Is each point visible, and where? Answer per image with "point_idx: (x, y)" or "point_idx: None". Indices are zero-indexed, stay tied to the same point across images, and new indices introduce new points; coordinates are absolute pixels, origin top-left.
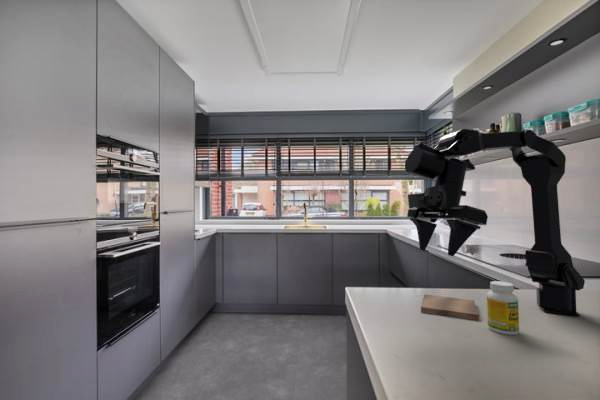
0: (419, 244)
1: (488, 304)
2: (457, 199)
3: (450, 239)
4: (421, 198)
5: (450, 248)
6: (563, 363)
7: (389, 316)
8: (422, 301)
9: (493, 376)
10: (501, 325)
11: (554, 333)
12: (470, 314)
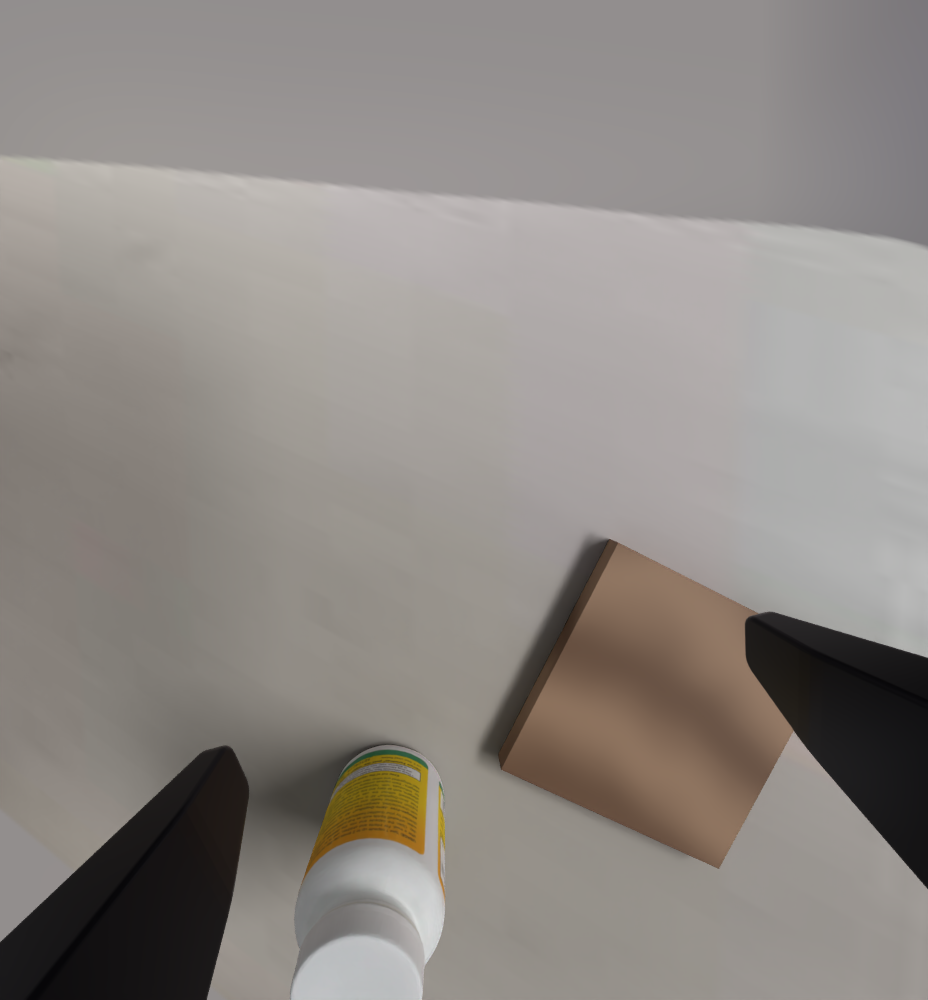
0: (828, 630)
1: (384, 812)
2: None
3: (28, 952)
4: None
5: (137, 816)
6: (114, 812)
7: (550, 358)
8: (706, 587)
9: (17, 528)
10: (340, 782)
11: None
12: (516, 738)
